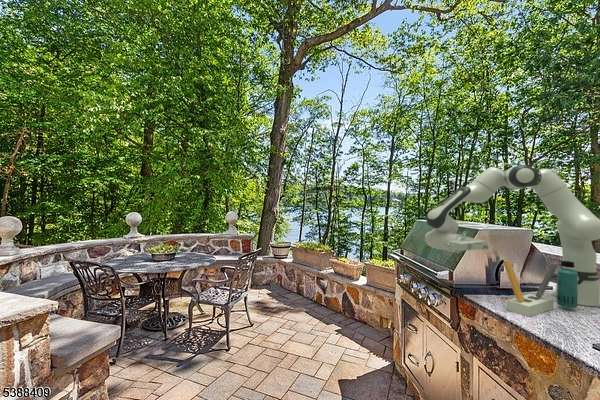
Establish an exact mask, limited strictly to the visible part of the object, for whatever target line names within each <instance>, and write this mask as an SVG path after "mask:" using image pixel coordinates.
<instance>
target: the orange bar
mask: <svg viewBox="0 0 600 400" xmlns="http://www.w3.org/2000/svg"><path fill="white" fill-rule="evenodd" d="M502 263H503V266H504V269H505V271H506V274H507V276H508V281H509V282H510V285H511V288H512V291H513V293H514V296H515V297H514V298H516V299H517V301H523V300H524V297H523V292H522V290H521V287H520V283H519V282H518V279H517V276H516V273H515V270H514V268H513V265H512V262H511V260H506V261H504V260H503V262H502Z"/></svg>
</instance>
